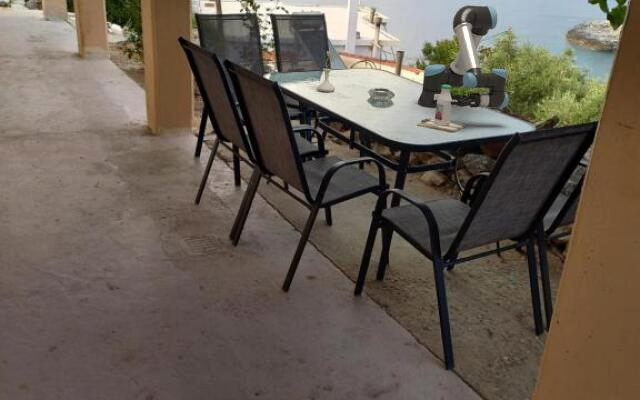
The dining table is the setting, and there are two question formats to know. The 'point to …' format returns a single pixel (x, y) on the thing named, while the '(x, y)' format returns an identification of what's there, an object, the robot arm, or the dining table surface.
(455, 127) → the clipboard
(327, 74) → the flower in vase
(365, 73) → the dining table surface
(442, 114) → the milk bottle
